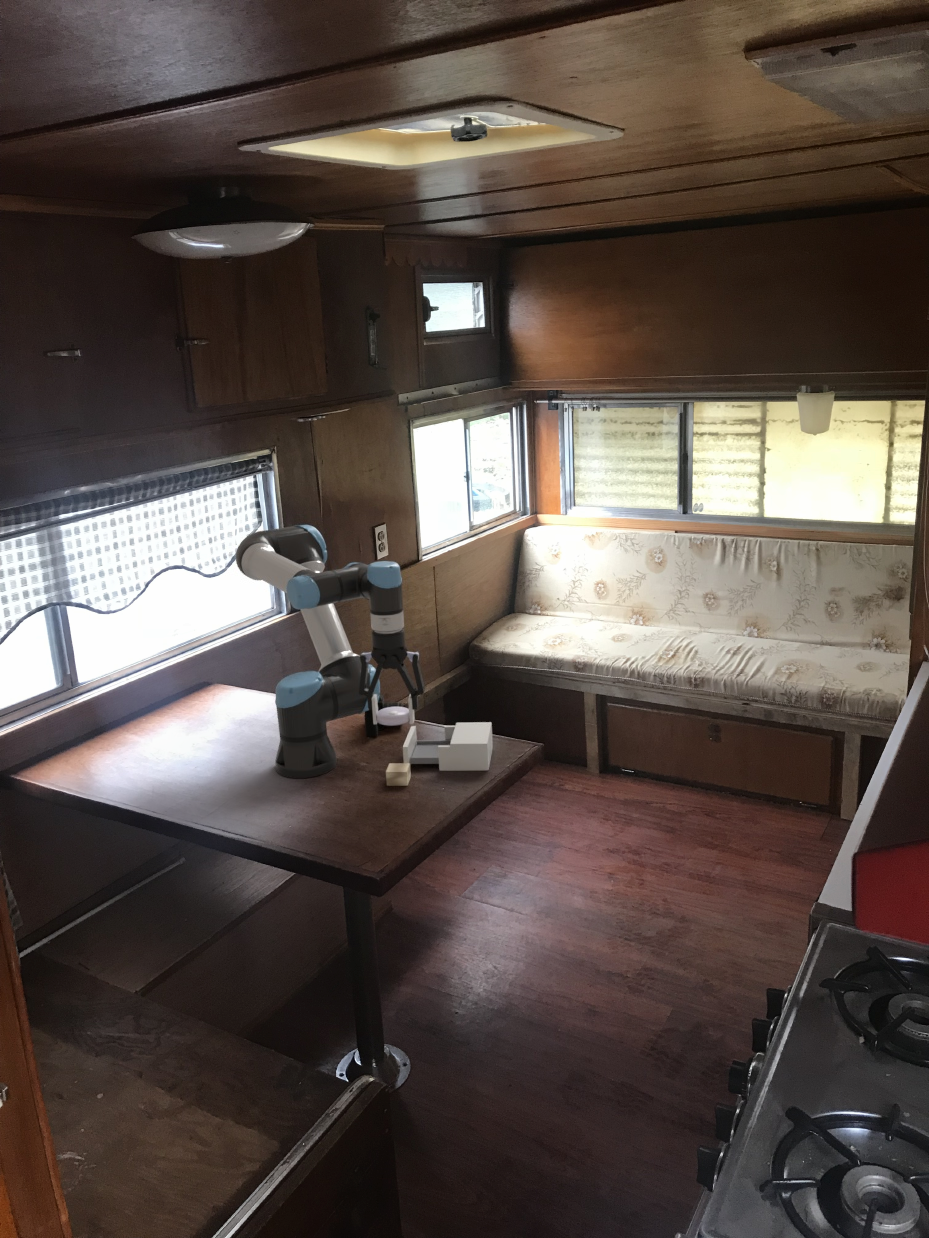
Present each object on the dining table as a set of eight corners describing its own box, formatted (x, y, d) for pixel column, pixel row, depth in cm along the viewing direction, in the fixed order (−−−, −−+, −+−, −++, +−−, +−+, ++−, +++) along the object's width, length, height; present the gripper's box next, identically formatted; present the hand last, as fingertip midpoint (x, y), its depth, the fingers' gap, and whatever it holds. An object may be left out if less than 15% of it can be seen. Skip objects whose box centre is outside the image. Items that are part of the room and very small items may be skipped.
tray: (401, 769, 242) (400, 747, 241) (410, 747, 255) (409, 726, 254) (452, 769, 241) (450, 746, 239) (458, 747, 254) (456, 725, 252)
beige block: (386, 785, 234) (385, 771, 233) (390, 776, 239) (389, 763, 238) (407, 785, 234) (406, 771, 233) (410, 776, 238) (410, 763, 238)
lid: (374, 725, 229) (373, 719, 229) (380, 712, 237) (379, 706, 236) (408, 725, 228) (407, 718, 228) (413, 712, 236) (412, 706, 235)
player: (439, 770, 241) (437, 743, 239) (446, 748, 254) (444, 722, 253) (488, 770, 240) (487, 743, 238) (492, 747, 253) (491, 722, 251)
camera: (402, 737, 264) (399, 701, 261) (362, 739, 264) (359, 703, 261) (404, 718, 277) (402, 684, 274) (367, 720, 277) (364, 686, 275)
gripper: (339, 634, 224) (347, 728, 230) (430, 633, 222) (435, 728, 228) (347, 625, 231) (354, 716, 237) (434, 624, 229) (439, 716, 235)
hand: (394, 721), depth 233 cm, fingers closed on lid, 8 cm apart
